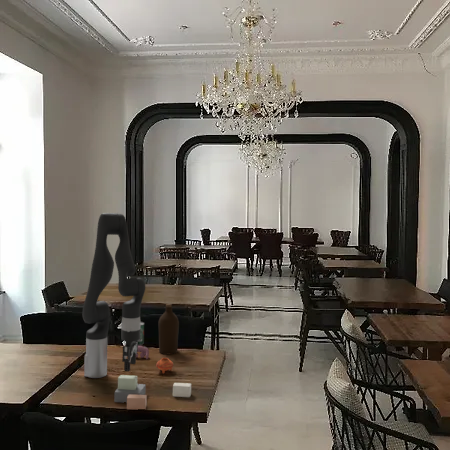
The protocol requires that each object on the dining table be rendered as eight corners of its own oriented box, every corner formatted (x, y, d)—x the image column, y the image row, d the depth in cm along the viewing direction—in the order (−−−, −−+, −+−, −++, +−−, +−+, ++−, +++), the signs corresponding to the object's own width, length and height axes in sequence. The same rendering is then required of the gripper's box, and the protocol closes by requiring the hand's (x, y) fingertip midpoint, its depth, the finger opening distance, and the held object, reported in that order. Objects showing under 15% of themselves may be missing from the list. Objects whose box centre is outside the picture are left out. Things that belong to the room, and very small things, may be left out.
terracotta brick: (126, 409, 202) (126, 397, 202) (128, 405, 206) (128, 394, 206) (145, 410, 202) (145, 398, 202) (146, 406, 206) (146, 394, 205)
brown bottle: (165, 355, 269) (165, 307, 268) (154, 350, 278) (154, 303, 276) (182, 352, 276) (183, 304, 275) (171, 347, 284) (171, 301, 283)
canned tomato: (126, 344, 289) (126, 324, 288) (135, 340, 296) (135, 321, 295) (138, 346, 285) (138, 326, 285) (146, 342, 292) (147, 323, 291)
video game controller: (148, 360, 266) (149, 346, 269) (148, 359, 262) (149, 344, 265) (129, 360, 266) (130, 346, 269) (128, 359, 262) (129, 344, 264)
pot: (169, 366, 252) (171, 354, 250) (174, 376, 245) (176, 363, 243) (153, 368, 248) (155, 355, 247) (157, 377, 242) (159, 364, 240)
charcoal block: (114, 401, 209) (114, 392, 209) (121, 392, 219) (121, 383, 219) (139, 403, 208) (139, 393, 208) (145, 393, 218) (145, 384, 218)
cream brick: (172, 396, 216) (172, 385, 216) (174, 393, 220) (174, 382, 219) (189, 397, 216) (189, 386, 215) (191, 394, 219) (191, 383, 219)
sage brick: (117, 389, 212) (117, 377, 212) (120, 385, 215) (120, 375, 215) (135, 389, 211) (135, 378, 211) (137, 386, 215) (137, 375, 215)
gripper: (126, 322, 219) (125, 361, 220) (116, 331, 205) (115, 373, 206) (144, 323, 218) (143, 362, 220) (135, 333, 204) (134, 374, 205)
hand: (130, 367), depth 213 cm, fingers open, 8 cm apart
